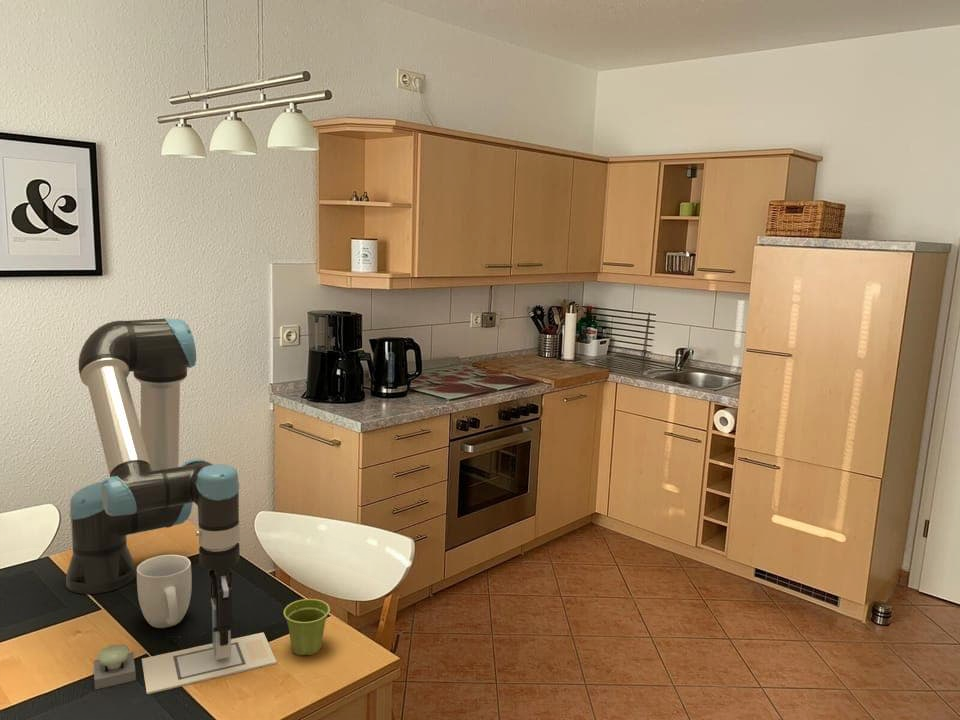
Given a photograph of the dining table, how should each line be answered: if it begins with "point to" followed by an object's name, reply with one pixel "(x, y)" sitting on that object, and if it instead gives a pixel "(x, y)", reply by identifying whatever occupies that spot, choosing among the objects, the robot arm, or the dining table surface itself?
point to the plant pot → (306, 625)
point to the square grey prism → (215, 623)
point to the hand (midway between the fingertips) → (221, 652)
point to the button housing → (114, 673)
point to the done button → (113, 656)
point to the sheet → (205, 663)
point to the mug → (164, 589)
